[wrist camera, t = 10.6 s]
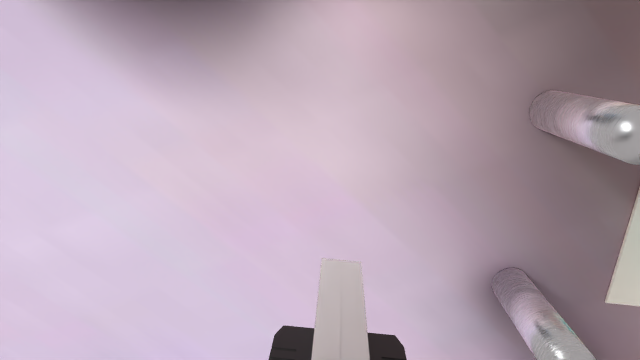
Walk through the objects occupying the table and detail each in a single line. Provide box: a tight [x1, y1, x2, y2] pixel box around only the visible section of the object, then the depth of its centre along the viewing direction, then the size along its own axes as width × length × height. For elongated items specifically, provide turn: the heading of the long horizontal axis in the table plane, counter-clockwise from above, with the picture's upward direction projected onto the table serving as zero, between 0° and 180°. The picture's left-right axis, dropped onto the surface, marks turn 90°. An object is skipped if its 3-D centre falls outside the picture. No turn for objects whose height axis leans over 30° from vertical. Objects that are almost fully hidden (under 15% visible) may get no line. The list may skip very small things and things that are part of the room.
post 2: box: [492, 268, 597, 360], centre depth 27 cm, size 3×3×9 cm
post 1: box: [529, 90, 640, 165], centre depth 23 cm, size 3×3×9 cm
